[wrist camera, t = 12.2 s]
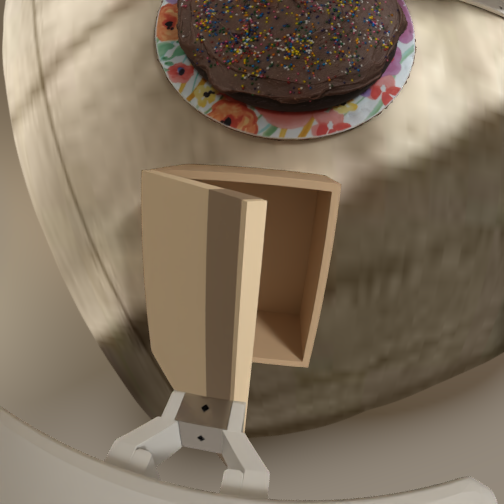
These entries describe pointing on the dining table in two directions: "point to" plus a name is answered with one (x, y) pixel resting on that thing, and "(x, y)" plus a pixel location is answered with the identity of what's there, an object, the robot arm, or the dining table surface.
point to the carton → (284, 252)
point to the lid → (202, 282)
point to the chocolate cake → (286, 61)
